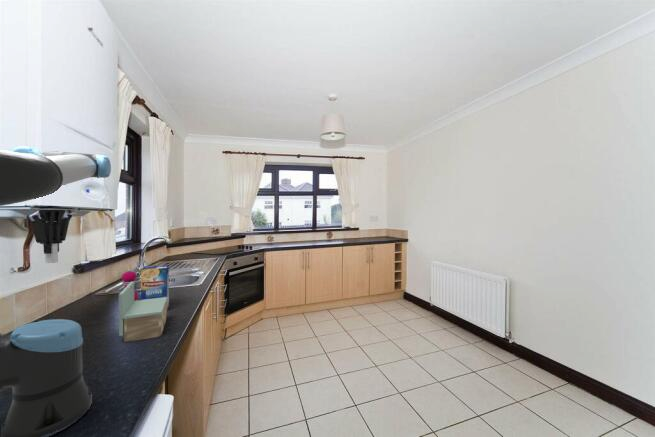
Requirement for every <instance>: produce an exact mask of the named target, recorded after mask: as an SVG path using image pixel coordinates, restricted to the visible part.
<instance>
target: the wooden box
mask: <svg viewBox="0 0 655 437" xmlns="http://www.w3.org/2000/svg"><path fill="white" fill-rule="evenodd" d="M166 321H167V311H166V303H165V306H164V309H163V311H162V314H158V315H150V316H143V317H135V318H128V319H124V335H123V340H124V342H123V343H130V342H135V341H141V340H146V339H153V338H159V337H162V335H163V332H164V329H165V325H166Z"/></svg>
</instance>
